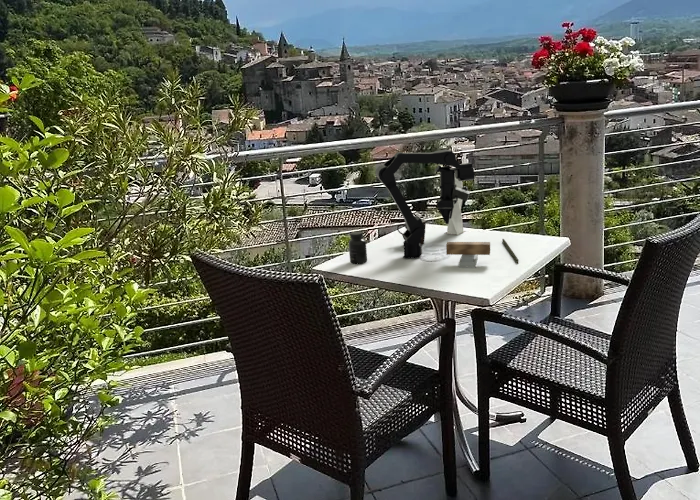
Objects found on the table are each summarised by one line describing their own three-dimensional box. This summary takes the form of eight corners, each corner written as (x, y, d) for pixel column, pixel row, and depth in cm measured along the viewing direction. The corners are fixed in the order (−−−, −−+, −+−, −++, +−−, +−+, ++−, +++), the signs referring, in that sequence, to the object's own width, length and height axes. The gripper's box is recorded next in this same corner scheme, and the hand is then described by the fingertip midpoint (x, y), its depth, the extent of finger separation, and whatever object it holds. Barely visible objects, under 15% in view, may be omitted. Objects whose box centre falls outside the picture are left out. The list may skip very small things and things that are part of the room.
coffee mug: (430, 241, 290) (429, 219, 288) (421, 247, 283) (420, 223, 281) (406, 239, 296) (405, 217, 294) (396, 244, 289) (395, 221, 287)
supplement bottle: (358, 258, 272) (356, 229, 269) (370, 261, 267) (369, 232, 264) (346, 263, 268) (344, 233, 264) (358, 265, 263) (356, 235, 260)
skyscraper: (468, 232, 303) (467, 170, 296) (459, 236, 297) (458, 173, 290) (451, 230, 308) (450, 169, 301) (442, 234, 302) (441, 172, 295)
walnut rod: (446, 254, 256) (446, 244, 254) (447, 252, 259) (447, 241, 258) (489, 254, 251) (489, 244, 250) (490, 252, 255) (490, 242, 254)
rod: (518, 264, 253) (518, 259, 252) (516, 264, 253) (516, 259, 252) (503, 242, 283) (503, 238, 282) (501, 242, 283) (501, 238, 282)
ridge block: (459, 267, 252) (458, 257, 251) (461, 259, 262) (461, 249, 260) (475, 267, 251) (475, 257, 250) (477, 259, 260) (477, 249, 259)
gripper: (466, 186, 254) (466, 226, 258) (470, 177, 271) (471, 215, 276) (436, 186, 257) (437, 226, 261) (442, 178, 274) (443, 215, 278)
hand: (448, 221), depth 269 cm, fingers open, 9 cm apart
